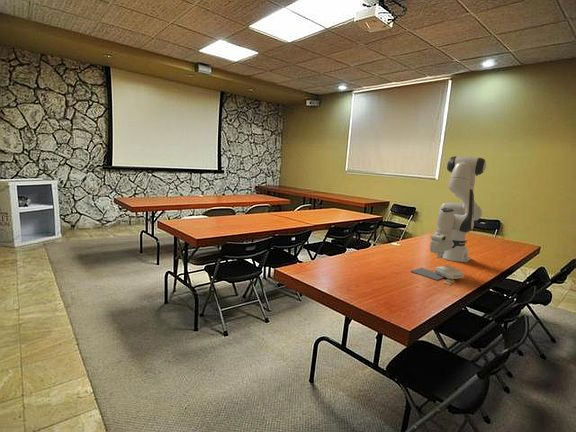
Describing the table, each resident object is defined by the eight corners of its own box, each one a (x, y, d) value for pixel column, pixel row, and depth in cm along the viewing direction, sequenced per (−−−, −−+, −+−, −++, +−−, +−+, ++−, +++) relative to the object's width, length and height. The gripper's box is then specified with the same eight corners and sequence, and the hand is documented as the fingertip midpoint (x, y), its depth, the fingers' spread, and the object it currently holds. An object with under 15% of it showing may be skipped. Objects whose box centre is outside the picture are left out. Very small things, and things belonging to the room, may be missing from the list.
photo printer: (448, 265, 193) (466, 271, 181) (448, 272, 193) (465, 279, 182) (434, 266, 189) (451, 273, 178) (434, 273, 190) (450, 280, 178)
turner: (450, 276, 188) (450, 275, 188) (457, 278, 186) (457, 276, 186) (443, 283, 176) (443, 281, 176) (450, 285, 174) (450, 283, 173)
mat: (421, 268, 199) (421, 267, 199) (447, 276, 187) (447, 275, 187) (410, 271, 192) (410, 270, 192) (436, 280, 179) (437, 279, 179)
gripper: (446, 233, 201) (442, 254, 203) (429, 236, 188) (426, 259, 190) (456, 235, 196) (453, 257, 198) (440, 238, 183) (436, 262, 186)
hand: (439, 258), depth 194 cm, fingers closed
